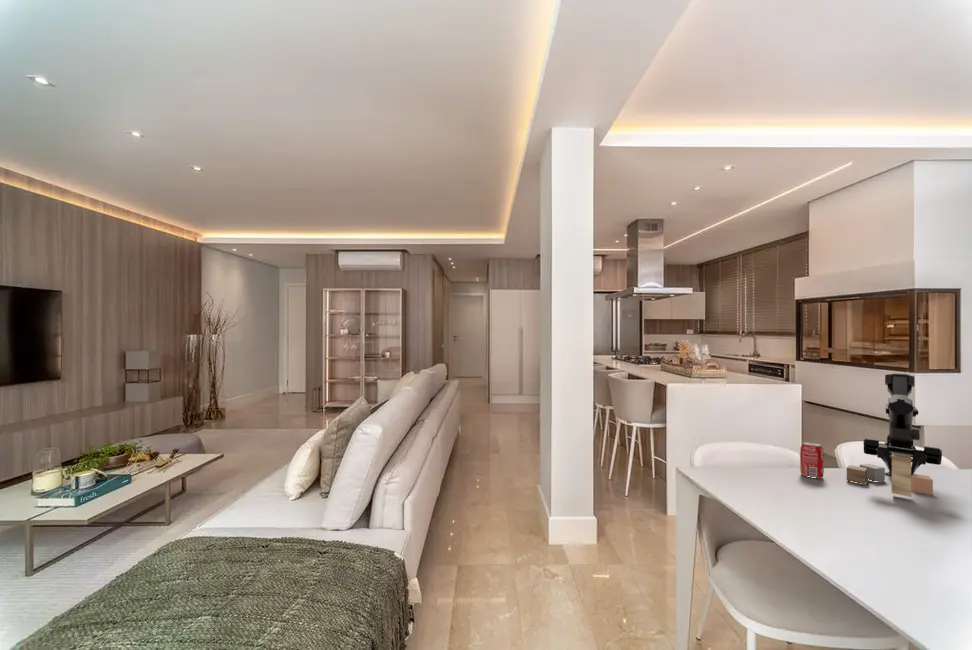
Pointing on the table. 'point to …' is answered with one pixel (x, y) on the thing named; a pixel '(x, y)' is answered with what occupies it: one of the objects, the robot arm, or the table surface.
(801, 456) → the soda can
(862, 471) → the walnut block
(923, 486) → the terracotta block
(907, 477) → the tall oak block
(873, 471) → the slate grey block
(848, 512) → the table surface
